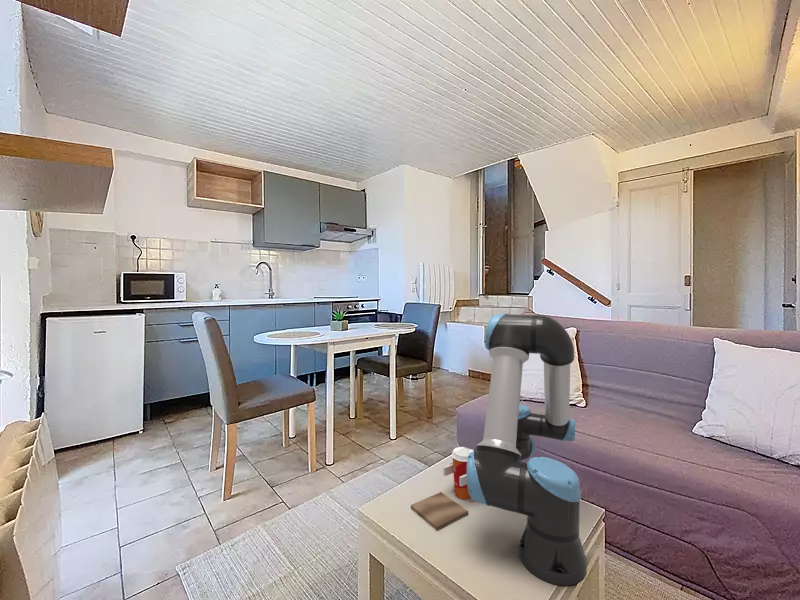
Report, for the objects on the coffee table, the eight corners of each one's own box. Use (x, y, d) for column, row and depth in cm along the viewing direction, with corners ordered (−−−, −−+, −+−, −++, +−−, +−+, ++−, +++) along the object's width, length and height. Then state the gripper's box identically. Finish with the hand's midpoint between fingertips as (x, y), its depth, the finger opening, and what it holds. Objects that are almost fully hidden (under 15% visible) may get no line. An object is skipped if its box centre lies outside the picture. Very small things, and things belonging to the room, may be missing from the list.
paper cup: (458, 485, 120) (458, 444, 120) (479, 492, 116) (480, 450, 115) (446, 496, 114) (447, 453, 113) (469, 504, 109) (469, 459, 109)
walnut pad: (468, 514, 105) (468, 511, 105) (437, 530, 98) (437, 527, 98) (441, 494, 115) (441, 491, 115) (410, 508, 108) (410, 505, 108)
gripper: (524, 479, 117) (475, 504, 104) (479, 455, 133) (431, 474, 120) (525, 456, 117) (475, 478, 103) (479, 436, 133) (431, 452, 119)
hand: (452, 476), depth 112 cm, fingers closed on paper cup, 6 cm apart
